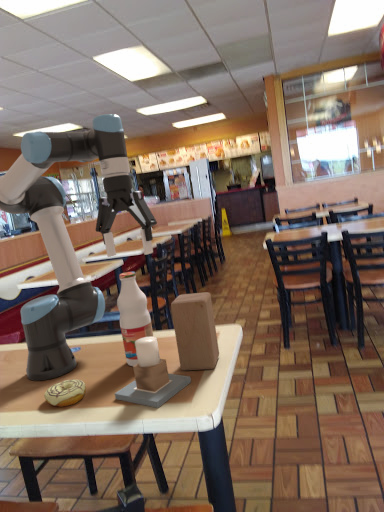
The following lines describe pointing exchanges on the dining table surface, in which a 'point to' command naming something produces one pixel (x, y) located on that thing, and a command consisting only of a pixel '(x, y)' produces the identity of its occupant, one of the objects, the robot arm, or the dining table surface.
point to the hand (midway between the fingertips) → (129, 255)
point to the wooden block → (195, 331)
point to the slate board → (150, 397)
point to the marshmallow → (147, 351)
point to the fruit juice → (132, 315)
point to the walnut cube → (151, 376)
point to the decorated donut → (65, 393)
